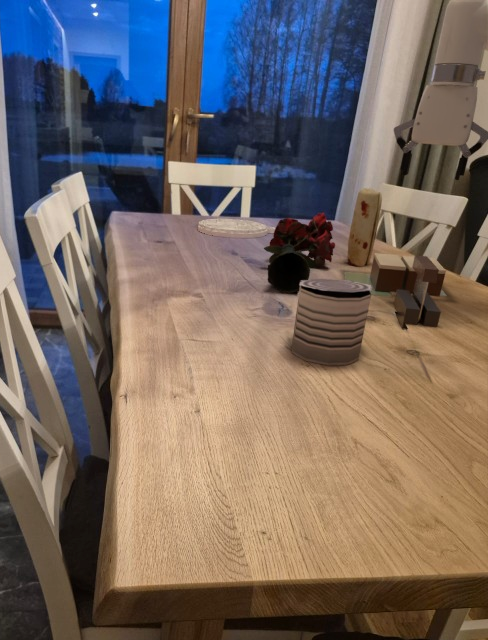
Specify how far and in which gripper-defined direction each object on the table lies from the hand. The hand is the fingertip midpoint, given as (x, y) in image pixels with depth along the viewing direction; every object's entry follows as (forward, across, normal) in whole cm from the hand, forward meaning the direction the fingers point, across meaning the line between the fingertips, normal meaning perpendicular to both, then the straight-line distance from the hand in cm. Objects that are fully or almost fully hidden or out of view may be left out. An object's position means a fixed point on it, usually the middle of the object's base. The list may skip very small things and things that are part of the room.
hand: (430, 177), depth 113 cm
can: (+26, +8, +39) cm, 47 cm away
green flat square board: (+26, +3, -12) cm, 29 cm away
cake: (+25, -2, -14) cm, 28 cm away
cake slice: (+25, +6, -12) cm, 28 cm away
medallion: (+26, +61, -59) cm, 89 cm away
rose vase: (+26, +27, -10) cm, 39 cm away
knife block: (+26, -3, +10) cm, 28 cm away
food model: (+26, +16, -32) cm, 44 cm away
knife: (+26, -3, +10) cm, 28 cm away
